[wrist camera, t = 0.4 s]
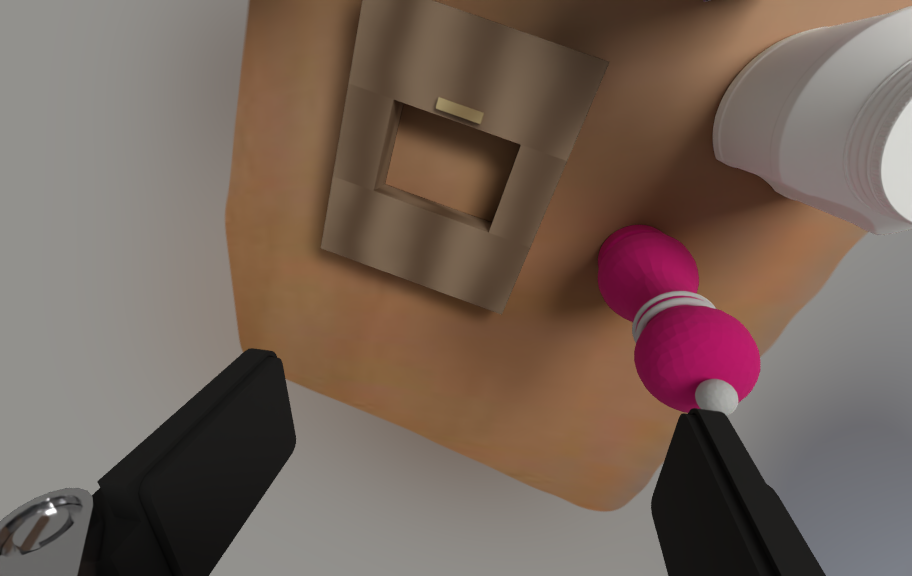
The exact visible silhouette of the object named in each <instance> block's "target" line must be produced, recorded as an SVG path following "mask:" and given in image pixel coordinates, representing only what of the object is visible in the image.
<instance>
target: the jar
mask: <svg viewBox="0 0 912 576" xmlns="http://www.w3.org/2000/svg"><path fill="white" fill-rule="evenodd" d="M713 149H714V154H715V157H716V159H717V160H719V161H721V162H722V163H724V164H726V165H728V166H731V167H734V168H739V169H742V170H745V171H747V172H750V173H753V174H756V175H758V176H760V177H761V178H762V179H764V180H765V181H766V182H767V183H768V184H769V185H770V186H771V187H772V188H773V189H774V191H776V192H777V193H779V194H781V195H783V196H785V197H787V198H789V199H792V200H797V201H799V202H802V203H804V204H807V205H809V206H811V207H814V208H816V209H819V210H821V211H824V212H826V213H829V214H831V215H833V216H836V217H838V218H841V219H843V220H846V221H848V222H850V223H853V224H855V225H857V226H859V227H860V228H862V229H864V230H866V231H869V232H871V233H874V234H876V235H884V234H891V233H897V232H902V231H906V230H910V229H912V6H909V7H906V8H903V9H900V10H897V11H894V12H891V13H888V14H883V15H879V16H875V17H870V18H866V19H862V20H857V21H853V22H849V23H844V24H840V25H835V26H831V27H820V28H815V29H811V30H807V31H804V32H800V33H797V34H795V35H792V36H790V37H787V38H785V39H783V40H781V41H779V42H777V43H775V44H774V45H772V46H770V47H769V48H767V49H766V50H764V51H763V52H761V53H760V54H759V55H758V56H756V57H755V58H754V59H753V60H752V61H751V62H749V63H748V64H747V65H746V66H745V67H744V68H743V69H742V71H741V72H740V73H739V74H738V75H737V76H736V78H735V79H734V80H733V82H732V83H731V84H730V86H729V87H728V89H727V91H726V92H725V94H724V96H723V98H722V100H721V102H720V105H719V107H718V110H717V113H716V116H715V120H714V125H713Z"/></svg>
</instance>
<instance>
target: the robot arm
mask: <svg viewBox="0 0 912 576" xmlns="http://www.w3.org/2000/svg"><path fill="white" fill-rule="evenodd" d="M295 444H296V435H295V430H294V424H293V419H292V413H291V408H290V402H289V397H288V391H287V386H286V380H285V375H284V369H283V364H282V361H281V359H280V358H277V356H276V354H275V353H274V352H273V351H267V350H260V349H253V348H251V349H248V350H246V351H245V352H244V353H242V354H241V355H240V356H239V357H238V358H237V359H236V360H235V361H233V362H232V363H231V364H230V365H229V366H228V367H227V368H226V369H224V370H223V371H222V372H221V373H220V374H219V375H218V376H217V377H215V378H214V379H213V380H212V381H211V382H210V383H209V384H207V385H206V386H205V387H204V388H203V389H202V390H201V391H199V392H198V393H197V394H196V395H195V396H194V397H193V398H191V399H190V400H189V401H188V402H187V403H186V404H185V405H184V406H182V407H181V408H180V409H179V410H178V411H177V412H176V413H175V414H174V415H172V416H171V417H170V418H169V419H168V420H167V421H165V422H164V423H163V424H162V425H161V426H160V427H159V428H158V429H156V430H155V431H154V432H153V433H152V434H151V435H150V436H148V437H147V438H146V439H145V440H144V441H143V442H142V443H140V444H139V445H138V446H137V447H136V448H135V449H134V450H133V451H131V452H130V453H129V454H128V455H127V456H126V457H125V458H123V459H122V460H121V461H120V462H119V463H118V464H117V465H116V466H114V467H113V468H112V469H111V470H110V471H109V472H108V473H106V474H105V475H104V476H103V477H102V478H101V479H100V480H99V481H98V484H99V486H100V489H99V490H97V491H96V492H95V493H94V494H93V495H91V494H90V493H89V492H88V491H86V490H83V489H80V488H65V489H61V490H57V491H53V492H49V493H47V494H44V495H42V496H39V497H37V498H34V499H33V500H31V501H29V502H27V503H25V504H24V505H22V506H20V507H18V508H17V509H15V510H14V511H13V512H11V513H10V514H9V515H7V516H6V517H4V518H3V519H2V520H1V521H0V576H209V575H210V573H211V571H212V570H213V569H214V567H215V566H216V564H217V563H218V561H219V560H220V558H221V557H222V555H223V554H224V552H225V551H226V550H227V548H228V547H229V545H230V544H231V542H232V541H233V539H234V538H235V536H236V535H237V533H238V532H239V531H240V529H241V528H242V526H243V525H244V523H245V522H246V520H247V519H248V517H249V516H250V514H251V513H252V511H253V510H254V509H255V507H256V506H257V504H258V502H259V501H260V500H261V498H262V497H263V495H264V494H265V492H266V491H267V489H268V488H269V487H270V485H271V484H272V482H273V480H274V479H275V478H276V476H277V475H278V473H279V472H280V470H281V469H282V467H283V466H284V465H285V463H286V462H287V460H288V459H289V457H290V456H291V454H292V453H293V450H294V448H295ZM651 510H652V516H653V520H654V524H655V528H656V531H657V535H658V539H659V542H660V546H661V550H662V553H663V557H664V561H665V564H666V568H667V572H668V576H826V575H825V573H824V572H823V570H822V569H821V567H820V565H819V563H818V562H817V560H816V558H815V557H814V555H813V553H812V552H811V550H810V548H809V547H808V545H807V543H806V542H805V540H804V538H803V537H802V535H801V533H800V532H799V530H798V528H797V527H796V525H795V523H794V521H793V520H792V518H791V517H790V515H789V513H788V511H787V510H786V508H785V507H784V505H783V503H782V501H781V500H780V498H779V496H778V495H777V494H776V492H775V491H774V490H773V489H772V488H771V487H770V486H769V485H767V484H766V483H765V481H764V479H763V478H762V476H761V475H760V472H759V471H758V469H757V467H756V465H755V464H754V462H753V460H752V459H751V457H750V455H749V453H748V452H747V450H746V448H745V447H744V445H743V443H742V441H741V440H740V438H739V436H738V435H737V433H736V431H735V429H734V428H733V426H732V424H731V423H730V421H729V419H728V418H727V416H726V415H725V414H724V413H723V412H720V411H713V410H705V409H698V408H692V409H691V410H690V411H689V413H688V414H681V415H680V417H679V419H678V422H677V425H676V428H675V431H674V434H673V437H672V440H671V443H670V446H669V449H668V452H667V455H666V458H665V461H664V464H663V467H662V470H661V473H660V476H659V478H658V481H657V484H656V487H655V490H654V493H653V496H652V502H651Z"/></svg>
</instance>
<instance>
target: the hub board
mask: <svg viewBox="0 0 912 576" xmlns="http://www.w3.org/2000/svg"><path fill="white" fill-rule="evenodd" d="M608 64H609V62H608V61H605V60H602V59H600V58H597V57H594V56H591V55H588V54H585V53H582V52H580V51H577V50H574V49H571V48H568V47H565V46H562V45H559V44H557V43H554V42H551V41H548V40H545V39H542V38H539V37H537V36H534V35H531V34H528V33H525V32H522V31H519V30H516V29H514V28H511V27H508V26H505V25H502V24H499V23H496V22H494V21H491V20H488V19H485V18H482V17H479V16H476V15H473V14H471V13H468V12H465V11H462V10H459V9H456V8H453V7H450V6H448V5H445V4H442V3H439V2H436V1H433V0H362V6H361V12H360V18H359V24H358V30H357V36H356V42H355V47H354V53H353V59H352V65H351V71H350V77H349V83H348V89H347V95H346V101H345V107H344V113H343V119H342V125H341V131H340V136H339V142H338V148H337V154H336V160H335V166H334V172H333V178H332V184H331V190H330V196H329V202H328V208H327V214H326V220H325V226H324V231H323V237H322V243H321V249H324V250H327V251H330V252H332V253H335V254H338V255H341V256H343V257H346V258H349V259H351V260H354V261H357V262H360V263H362V264H365V265H368V266H371V267H373V268H376V269H379V270H381V271H384V272H387V273H390V274H392V275H395V276H398V277H401V278H403V279H406V280H409V281H411V282H414V283H417V284H420V285H422V286H425V287H428V288H431V289H433V290H436V291H439V292H441V293H444V294H447V295H450V296H452V297H455V298H458V299H461V300H463V301H466V302H469V303H471V304H474V305H477V306H480V307H482V308H485V309H488V310H491V311H493V312H496V313H499V314H501V315H502V313H503V311H504V308H505V306H506V303H507V301H508V299H509V296H510V294H511V292H512V289H513V287H514V285H515V282H516V280H517V278H518V275H519V273H520V271H521V268H522V266H523V264H524V261H525V259H526V257H527V254H528V252H529V250H530V247H531V245H532V242H533V240H534V238H535V235H536V233H537V231H538V228H539V226H540V224H541V221H542V219H543V217H544V214H545V212H546V210H547V207H548V205H549V203H550V200H551V198H552V196H553V193H554V191H555V188H556V186H557V184H558V181H559V179H560V177H561V174H562V172H563V170H564V167H565V165H566V163H567V160H568V158H569V156H570V153H571V151H572V149H573V146H574V144H575V142H576V139H577V137H578V135H579V132H580V130H581V127H582V125H583V123H584V120H585V118H586V116H587V113H588V111H589V109H590V106H591V104H592V102H593V99H594V97H595V95H596V92H597V90H598V88H599V85H600V83H601V81H602V78H603V76H604V74H605V71H606V69H607V66H608ZM404 103H405V104H408V105H411V106H414V107H416V108H419V109H422V110H425V111H428V112H430V113H433V114H436V115H439V116H442V117H445V118H447V119H450V120H453V121H456V122H459V123H461V124H464V125H467V126H470V127H473V128H475V129H478V130H481V131H484V132H487V133H490V134H492V135H495V136H498V137H501V138H504V139H506V140H509V141H512V142H515V143H518V144H520V145H521V146H520V149H519V151H518V154H517V157H516V160H515V162H514V165H513V168H512V170H511V173H510V176H509V179H508V181H507V184H506V187H505V189H504V192H503V195H502V198H501V200H500V203H499V206H498V208H497V211H496V214H495V217H494V219H493V222H492V223H491V222H488V221H486V220H483V219H480V218H477V217H475V216H472V215H469V214H466V213H464V212H461V211H458V210H455V209H452V208H450V207H447V206H444V205H441V204H439V203H436V202H433V201H430V200H428V199H425V198H422V197H419V196H416V195H414V194H411V193H408V192H405V191H403V190H400V189H397V188H394V187H392V186H389V185H386V184H385V182H386V178H387V173H388V169H389V165H390V160H391V156H392V152H393V147H394V143H395V139H396V134H397V130H398V126H399V121H400V117H401V112H402V108H403V104H404Z"/></svg>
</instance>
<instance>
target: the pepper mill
mask: <svg viewBox="0 0 912 576" xmlns="http://www.w3.org/2000/svg"><path fill="white" fill-rule="evenodd" d="M598 267H599V271H598V285H599V290H600V292H601V294H602V296H603V298H604V300H605V302H606V303H607V304H608V306H609V307H610V308H611V309H612V310H613V311H614V312H616V313H617V314H618V315H620V316H621V317H623V318H625V319H627V320H629V321H632V322H633V327H632V333H633V337H634V340H635V342H636V346H635V351H634V361H635V365H636V369H637V373H638V375H639V377H640V379H641V381H642V382H643V384H644V386H645V387H646V388H647V390H648V391H649V392H650V393H651V394H652V395H653V396H654V397H655V398H657V399H658V400H659V401H660V402H662V403H664V404H665V405H667V406H669V407H671V408H674V409H676V410H679V411H682V412H687V413H689V411H690V410H691V409H692V408H698V409H705V410H713V411H720V412H723V413H724V414H725V415H726V416H727V415H729V414H731V413H732V412H734V411H735V409H736V408H737V406H738V403H739V402H740V401H741V400H742V399H743V398H745V397H746V396H747V395H748V394H749V393H750V392H751V390H752V389H753V387H754V386H755V383H756V382H757V379H758V376H759V373H760V355H759V350H758V348H757V345H756V343H755V341H754V340H753V338H752V336H751V335H750V333H749V331H748V330H747V329H746V328H745V327H744V325H743V324H741V323H740V322H739V321H738V320H737V319H736V318H734V317H732V316H730V315H729V314H727V313H725V312H723V311H721V310H718V309H716V308H715V307H714V305H713V304H712V303H711V302H710V301H709V300H708V299H706V298H704V297H703V296H701V295H699V294H696V293H697V290H698V285H699V276H698V269H697V266H696V262H695V261H694V259H693V257H692V255H691V254H690V252H689V251H688V250H687V248H686V247H685V246H684V245H683V244H682V243H681V242H679V241H678V240H676V239H674V238H673V237H670V236H668V235H665V234H664V233H662V232H661V231H660V230H658V229H656V228H654V227H651V226H648V225H631V226H627V227H624V228H622V229H620V230H617V231H616V232H614V233H613V234H612V235H610V236H609V237H608V238H607V239H606V240H605V242H604V243H603V245H602V246H601V249H600V251H599V255H598Z"/></svg>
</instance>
